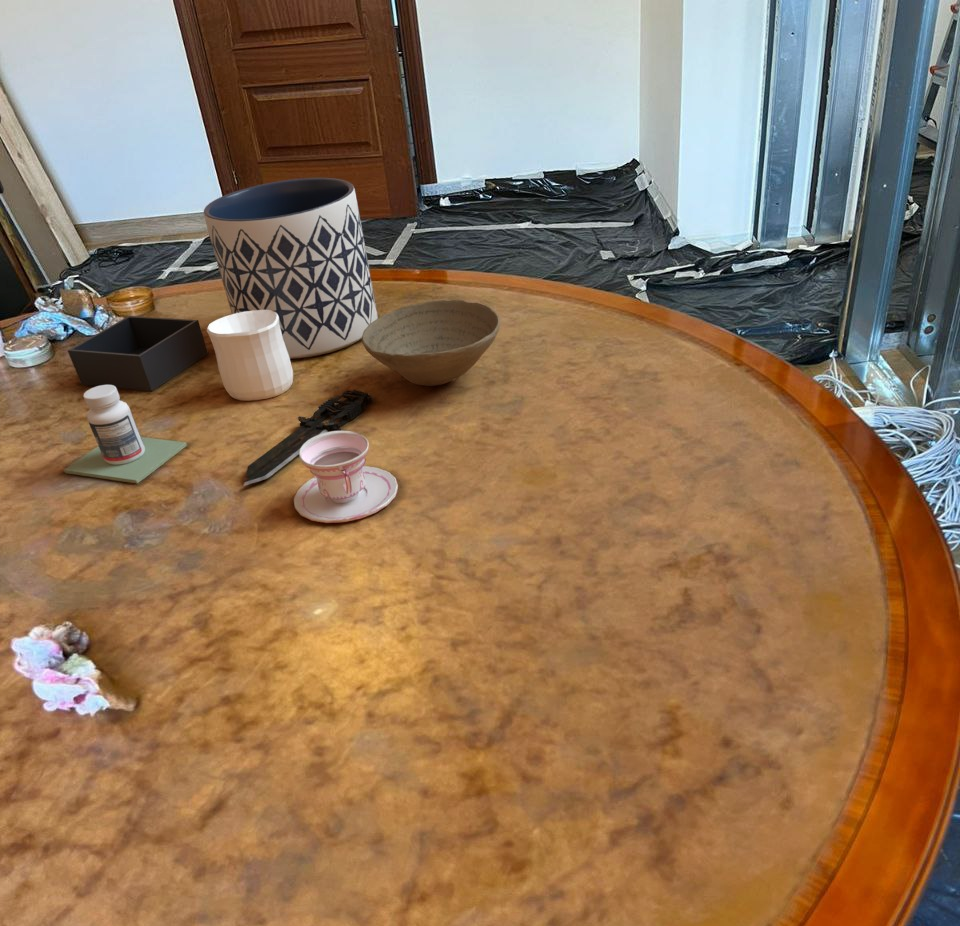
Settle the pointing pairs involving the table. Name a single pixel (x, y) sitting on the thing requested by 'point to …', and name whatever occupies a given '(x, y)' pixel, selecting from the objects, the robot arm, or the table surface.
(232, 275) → the planter
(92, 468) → the mat
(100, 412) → the pill bottle
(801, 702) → the table surface
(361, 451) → the teacup
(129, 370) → the box
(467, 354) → the bowl
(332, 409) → the knife
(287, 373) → the cup
